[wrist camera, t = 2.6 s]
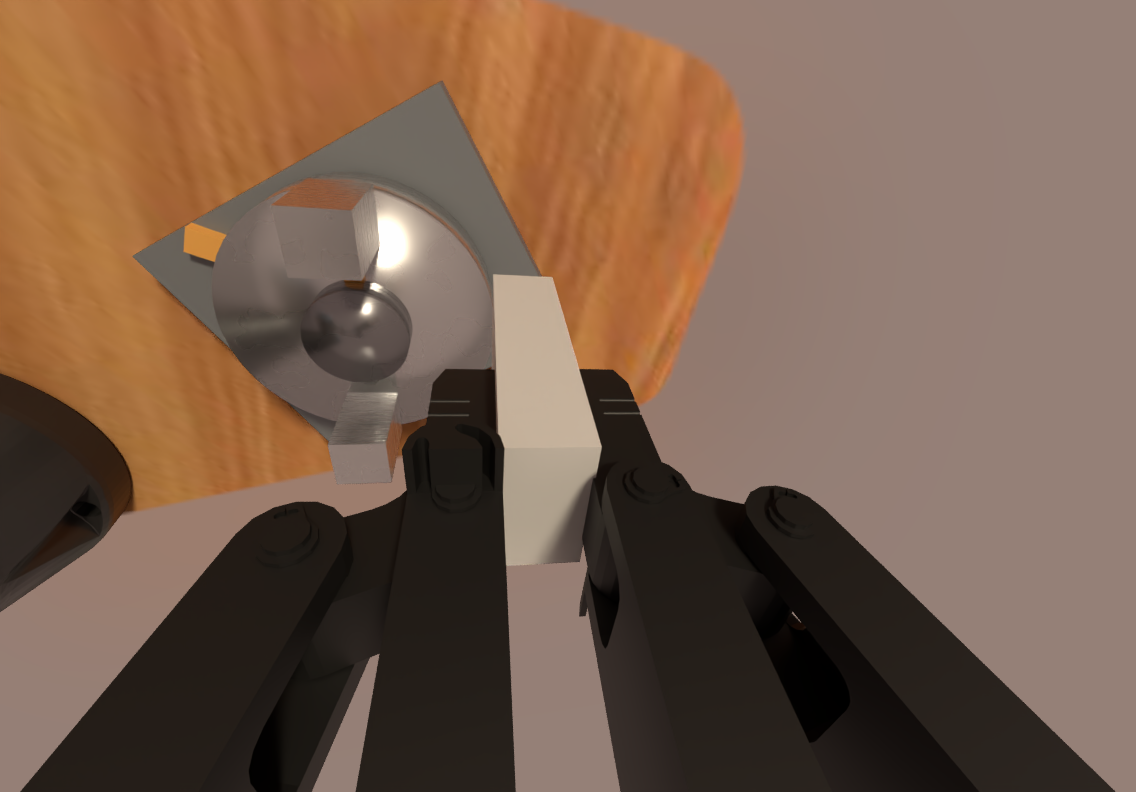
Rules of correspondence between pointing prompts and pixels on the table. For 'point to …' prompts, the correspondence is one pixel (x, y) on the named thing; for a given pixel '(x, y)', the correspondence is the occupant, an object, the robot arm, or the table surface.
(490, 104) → the table surface
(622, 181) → the table surface
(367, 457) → the silver metal dome
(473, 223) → the gray square base plate
